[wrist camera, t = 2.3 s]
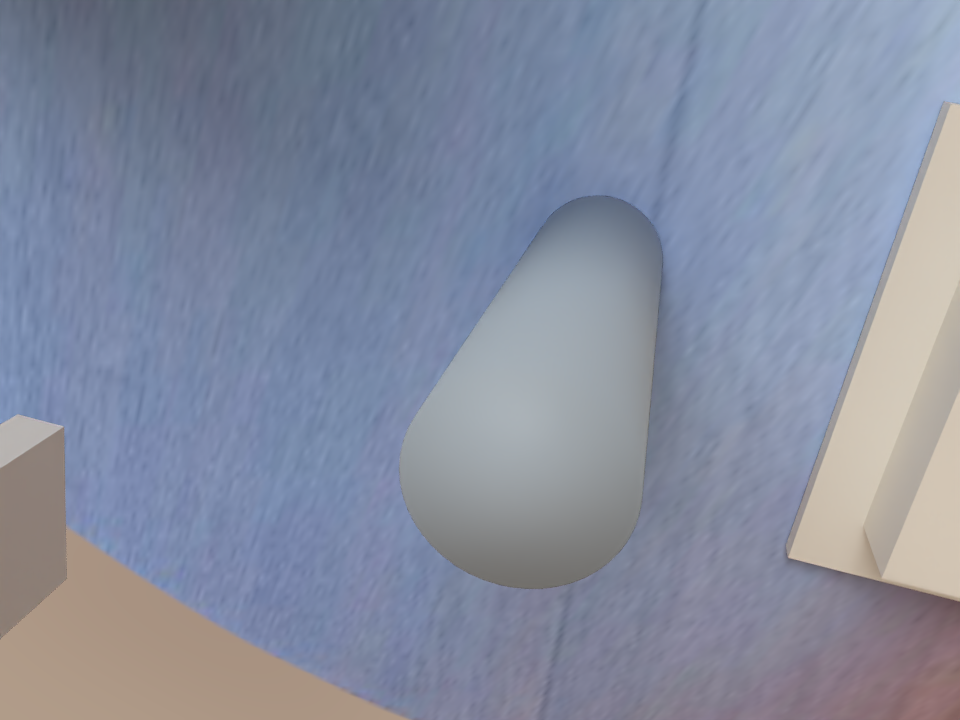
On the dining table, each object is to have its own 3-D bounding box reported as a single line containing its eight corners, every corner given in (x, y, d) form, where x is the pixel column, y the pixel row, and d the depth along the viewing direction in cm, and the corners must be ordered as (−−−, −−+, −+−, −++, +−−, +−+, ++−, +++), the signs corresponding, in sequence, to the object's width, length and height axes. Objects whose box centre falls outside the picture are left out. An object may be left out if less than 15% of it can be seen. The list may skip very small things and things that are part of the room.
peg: (522, 305, 32) (385, 553, 17) (546, 183, 30) (416, 343, 15) (645, 333, 31) (612, 615, 17) (677, 210, 29) (669, 404, 15)
